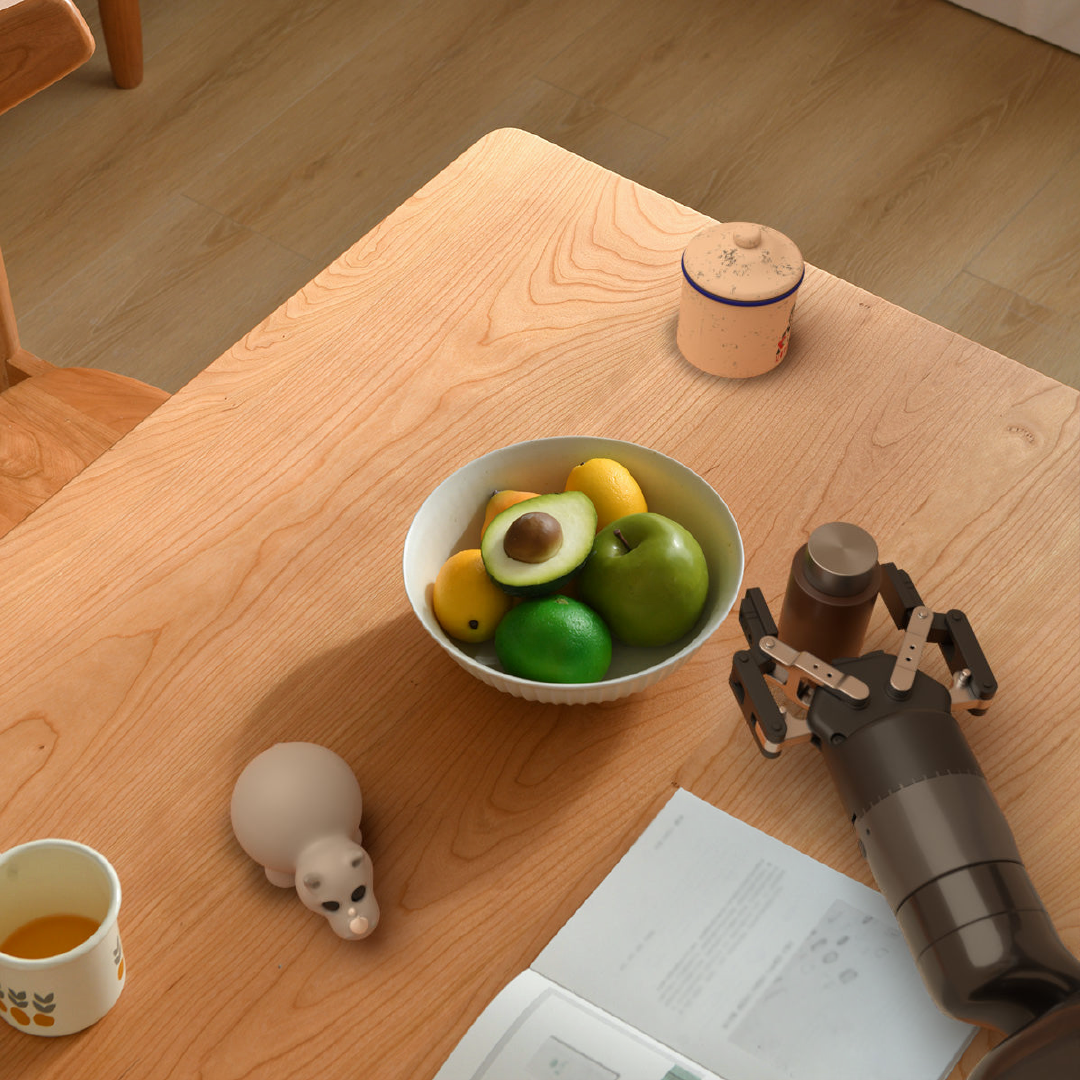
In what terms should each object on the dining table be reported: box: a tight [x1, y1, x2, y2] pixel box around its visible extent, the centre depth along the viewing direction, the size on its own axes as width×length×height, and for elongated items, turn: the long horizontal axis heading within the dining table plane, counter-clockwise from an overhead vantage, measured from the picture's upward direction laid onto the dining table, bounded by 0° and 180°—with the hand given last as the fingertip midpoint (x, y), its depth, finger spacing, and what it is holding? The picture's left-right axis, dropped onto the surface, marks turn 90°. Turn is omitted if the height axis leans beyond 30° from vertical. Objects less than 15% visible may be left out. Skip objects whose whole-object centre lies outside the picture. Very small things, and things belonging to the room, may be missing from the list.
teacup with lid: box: [676, 221, 806, 379], centre depth 103 cm, size 12×9×12 cm
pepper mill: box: [776, 521, 883, 689], centre depth 82 cm, size 5×5×13 cm
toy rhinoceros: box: [229, 741, 381, 941], centre depth 74 cm, size 7×12×8 cm, turn 29°
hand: (816, 583), depth 82 cm, fingers open, 8 cm apart
